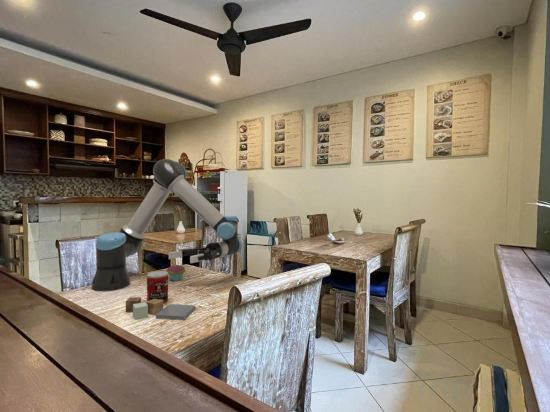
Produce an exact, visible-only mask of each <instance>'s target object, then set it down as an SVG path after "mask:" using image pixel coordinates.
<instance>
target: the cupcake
mask: <svg viewBox="0 0 550 412" xmlns="http://www.w3.org/2000/svg"><path fill="white" fill-rule="evenodd" d="M173 264H174V265H170V266H169V267H168V268H167V270H166V272H168V276H169V278H170V280H171V281H173V282H178V281H181V280H182V277H183V275H184V273H185V272H186V268H185V267H184V266H182V265H180V264H176V258H174V259H173Z"/></svg>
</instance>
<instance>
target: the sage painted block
mask: <svg viewBox="0 0 550 412" xmlns="http://www.w3.org/2000/svg"><path fill="white" fill-rule="evenodd" d="M146 302H147V301H144V302H141V303H138V304H133V312H132V316H133V318H134V320H135V321H136V320H140V319H145V318H149V317H148V316H149V314H148V305H147V304H146Z"/></svg>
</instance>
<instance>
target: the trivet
mask: <svg viewBox="0 0 550 412" xmlns="http://www.w3.org/2000/svg"><path fill="white" fill-rule="evenodd" d="M195 310H196V305H193V304H176V303H174V304H173V303H169V304H168V305H166V306H165V307H163V309H162V310H161V311H160V312H159V313H157V314H156V315H155V319H162V320H182V321H185V320H186V319H187V318H188V317H189V316H190V315H191V314H192V313H193V312H194V311H195Z"/></svg>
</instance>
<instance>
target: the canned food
mask: <svg viewBox="0 0 550 412" xmlns="http://www.w3.org/2000/svg"><path fill="white" fill-rule="evenodd" d="M153 299H159V300H163V305H164V304H165V303H167V302H168V299H169V274H168V272H167V271H164V270H163V271H161V270H157V271H151V272H149V273H147V275H146V302H148V301H150V300H153Z"/></svg>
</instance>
